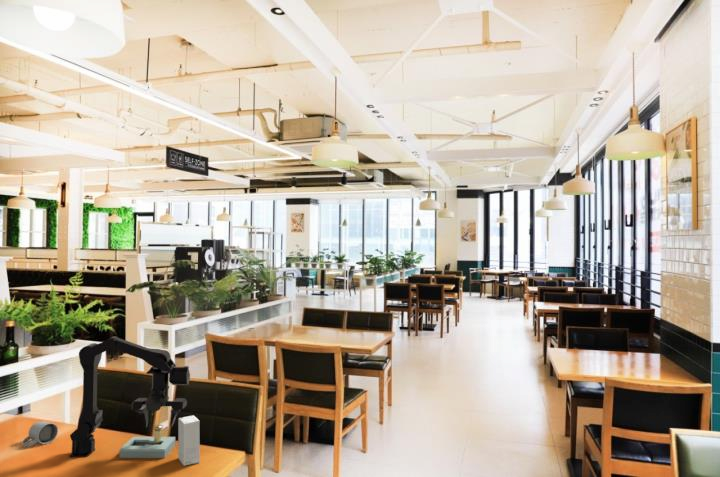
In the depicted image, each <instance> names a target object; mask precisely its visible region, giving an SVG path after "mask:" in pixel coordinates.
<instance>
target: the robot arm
mask: <svg viewBox="0 0 720 477" xmlns="http://www.w3.org/2000/svg"><path fill="white" fill-rule="evenodd" d="M109 350H115V351H117V352H120V353H123V354H126V355H129V356H132V357H135V358H138V359H140V360H142V361H144V362H145V363H147V364H148V365H149V366H151V367H150V369H149V370H148V371H146V374H147V375H152V377H151V378H152V379H151V380H152V381H151V389H150V394H149V396H147V397H138V398H137V399H135V400H133V401H132V403H131V410H132V411H133V410H134V411H135V412H136V413H138V414H139V415H140V416H141V420H142V422H143V425H144V427H145V428H147V427H148V424H149V412H150V411H155V412H158V411H160V410H161V408H163V407H171V408H172V409H171V410H170V423H169V424H170V428H172V427H173V425H174V424H175V421H176V417H177V415H178V413H179V412H181V411H182V410H184V409H185V407H187V404H188V400H187V399H186V398H184V397H179V398H177V397H176V398H174V400H169V398H170V397H169V389H170V385H169V384H171V385H172V386H188V385H189V383H190V381H191V380H190V379H191V373H190V370H189V368H190V367H189V366H188V365H184V366H177V365H176V364H175V362H174V360H173V359H172V357H171V356H172V355H171V353H170V352H169V350H165V349H161V348H160V349H159V348H150V347H145V346H143V345H141V344H140V345H139V344H136V343H135V342H131V341H128V340H125V339H123V338H120V337H118V336H117V335H116V336H112V337H110V338H107V339H106V340H104V341H101V342H99V343H95V342H94V343H90V344H88V345H86V346H84V347H82V348H80V350H79V352H78V358H79V364H80V366H81V368H82V372H83V377H82V378H83V379H82V380H83V381H82V382H83V383H82V386H83V387H82V411H81V413H80V415H79V418H78V421H77V422H78V423H77V428H76V429H75V430H74V431H73V432H72V433H70V435H69V437H70V439H71V453H70V454H69V455H68V456H69V457H88V456H90V455H91V454H93V452H94V451H95V450H96V448H95V447H96V446H95V445H96V444H95V443H96V438H95V435H94V433H95V431H96V430H97V429H98V428H99V427H100V426H101V423H102V421H104V419H103V413H104V412H103V409H99V407H98V402H97V401H98V369H99V365H100V362H101V359H102V356H103V353H104V352H107V351H109Z"/></svg>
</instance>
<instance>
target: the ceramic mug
mask: <svg viewBox="0 0 720 477" xmlns="http://www.w3.org/2000/svg"><path fill="white" fill-rule="evenodd" d="M58 428H59V427H58V425H57V424H56V423H53V422H49V421H43V420H41V421H37V422H34V423H33V424H32V425H31V426H30V428H29V430H28V436H27V437H26V438H24V439H23V440H22V441H21V444H22V445H23V447H24V448H29V447H32V446H33V445H35V444H37V443H39V444H41V445H48V444H50V443H52V442H53V441H54V440H55V439H56V437H57V436H58V433H59V429H58ZM30 440H31V441H30ZM28 441H29V442H28Z"/></svg>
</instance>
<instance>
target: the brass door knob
mask: <svg viewBox="0 0 720 477" xmlns="http://www.w3.org/2000/svg"><path fill="white" fill-rule="evenodd" d="M163 428H164V425H163V424H155V425H154V426H153V428H152V429H153V430H154V432H153V434H154V435H153V437H154V445H161V437H162V429H163Z"/></svg>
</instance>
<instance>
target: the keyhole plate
mask: <svg viewBox="0 0 720 477" xmlns="http://www.w3.org/2000/svg"><path fill="white" fill-rule="evenodd" d="M175 446H176V436H161V445H154V436H132V437H131V438H130V439H129V440H128V441H127V442H125V444H124V445H122V446H121V447H120V448H119V459H166V457H167V456H168V455H169V453H170V452H171V451H172V450H173V449H174V447H175Z"/></svg>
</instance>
